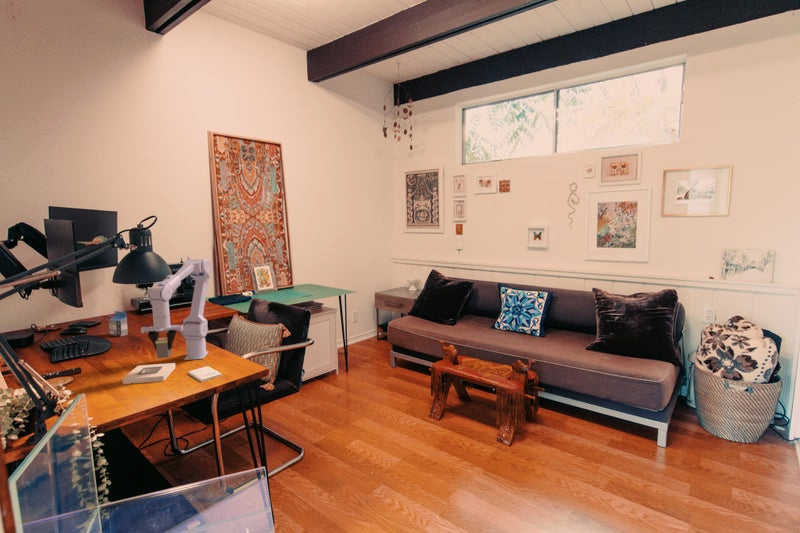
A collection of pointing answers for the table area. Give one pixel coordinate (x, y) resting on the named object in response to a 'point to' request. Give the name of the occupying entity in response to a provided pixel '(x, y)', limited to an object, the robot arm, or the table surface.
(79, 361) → the table surface
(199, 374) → the external hard drive
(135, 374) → the socket
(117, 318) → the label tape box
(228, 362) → the table surface
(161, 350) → the plug
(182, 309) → the table surface
